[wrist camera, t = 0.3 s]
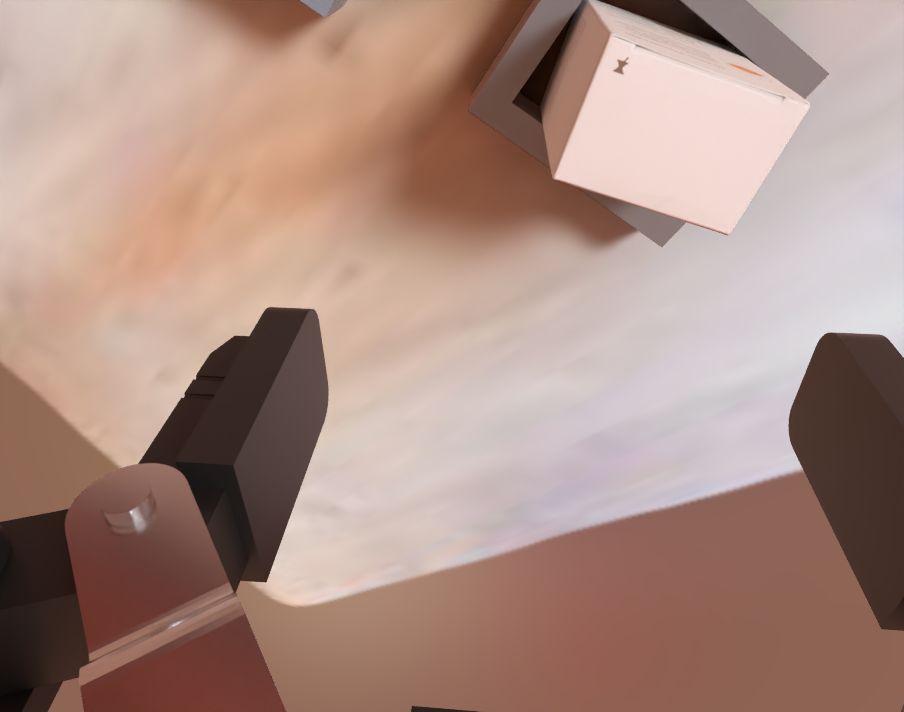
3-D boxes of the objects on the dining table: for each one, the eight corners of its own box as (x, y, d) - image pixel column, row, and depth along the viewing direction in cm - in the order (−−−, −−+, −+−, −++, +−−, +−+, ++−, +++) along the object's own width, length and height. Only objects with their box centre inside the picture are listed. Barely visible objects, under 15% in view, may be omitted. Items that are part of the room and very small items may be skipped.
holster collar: (606, -115, 28) (615, -115, 26) (805, 59, 31) (829, 73, 29) (471, 95, 34) (468, 111, 31) (652, 223, 37) (661, 247, 35)
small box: (537, 106, 34) (544, 180, 25) (581, -11, 31) (606, 29, 22) (678, 154, 35) (730, 241, 26) (734, 46, 31) (816, 105, 23)
